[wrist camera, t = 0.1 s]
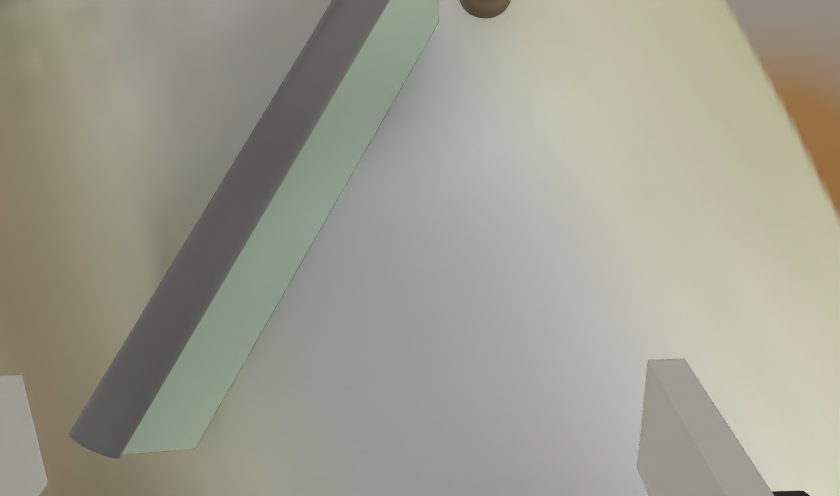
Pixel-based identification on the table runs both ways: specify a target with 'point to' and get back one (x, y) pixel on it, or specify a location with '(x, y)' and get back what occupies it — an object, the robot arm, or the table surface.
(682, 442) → the robot arm
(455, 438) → the table surface
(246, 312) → the pale green flat panel
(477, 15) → the gate posts
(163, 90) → the table surface
